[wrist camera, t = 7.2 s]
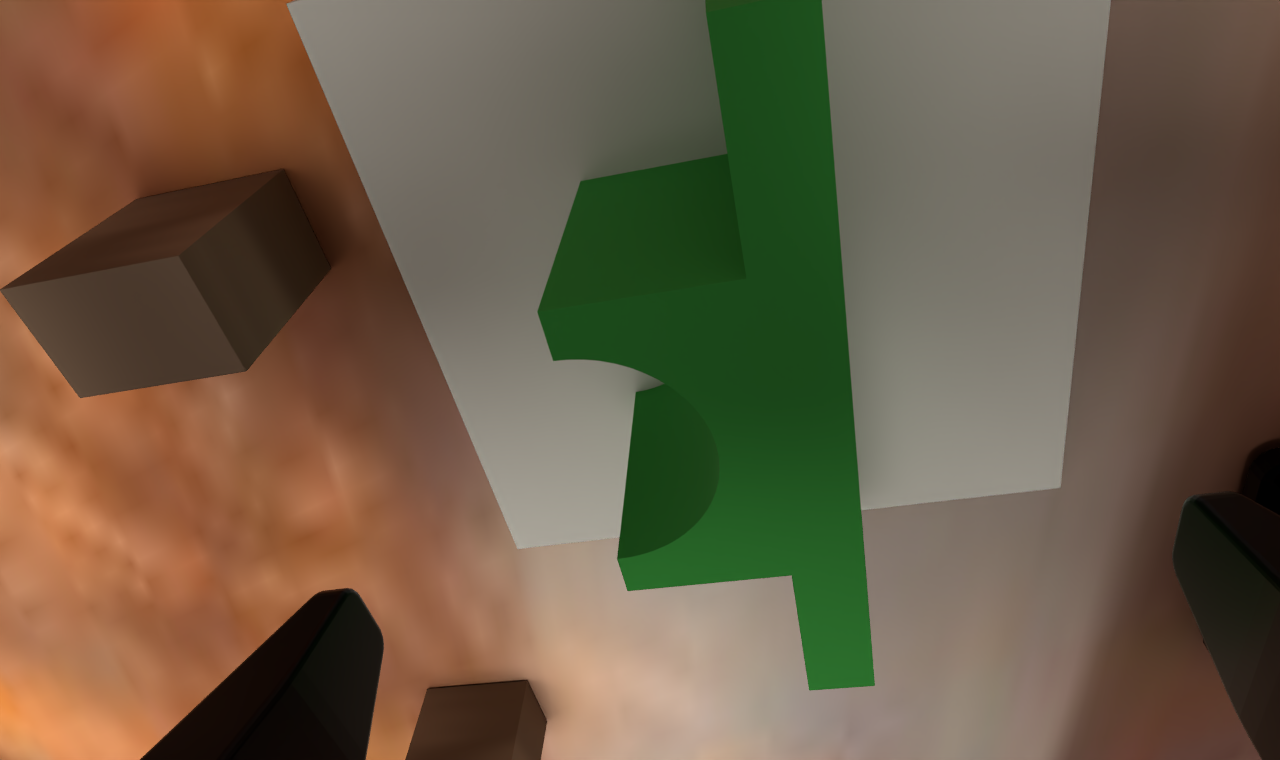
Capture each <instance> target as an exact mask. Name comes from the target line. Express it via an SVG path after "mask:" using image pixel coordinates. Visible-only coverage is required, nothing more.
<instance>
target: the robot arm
mask: <svg viewBox="0 0 1280 760" xmlns="http://www.w3.org/2000/svg"><path fill="white" fill-rule="evenodd" d="M1172 560H1173V566H1174V570H1175V573H1176V576H1177V579H1178V581H1179V583H1180V586H1181V588H1182V590H1183V592H1184V595H1185V597H1186V599H1187V602H1188V604H1189V606H1190V609H1191V611H1192V613H1193V615H1194V618H1195V620H1196V622H1197V625H1198V627H1199V629H1200V632H1201V634H1202V636H1203V643H1204V644H1205V646H1206V648H1207V649H1208V651H1209V653H1210V655H1211V657H1212V659H1213V662H1214V664H1215V666H1216V668H1217V671H1218V673H1219V675H1220V678H1221V680H1222V682H1223V685H1224V687H1225V689H1226V691H1227V694H1228V696H1229V698H1230V700H1231V702H1232V705H1233V707H1234V709H1235V711H1236V713H1237V715H1238V717H1239V719H1240V721H1241V723H1242V725H1243V727H1244V729H1245V730H1246V732H1247V734H1248V736H1249V738H1250V740H1251V742H1252V743H1253V745H1254V747H1255V749H1256V750H1257V752H1258V754H1259V756H1260V757H1261V759H1262V760H1280V447H1279V448H1275V449H1271V450H1269V451H1267V452H1265V453H1263V454H1261V455H1260V456H1259V457H1258V458H1256V459H1255V460H1254V461H1253V463H1252V465H1251V467H1250V468H1249V472H1248V476H1247V479H1246V483H1245V486H1244V490H1243V494H1242V495H1241V494H1239V493H1236V492H1230V491H1226V492H1216V493H1207V494H1198V495H1193V496H1190V497H1188V498H1187V499H1186V501H1185V502H1184V504H1183V507H1182V511H1181V515H1180V520H1179V524H1178V528H1177V533H1176V537H1175V542H1174V546H1173V552H1172ZM383 650H384V642H383V636H382V633H381V630H380V628H379V626H378V625H377V623H376V621H375V620H374V618H373V617H372V615H371V613H370V612H369V610H368V608H367V607H366V605H365V603H364V602H363V600H362V598H361V597H360V595H359V594H358V593H357V592H356V591H354V590H353V589H349V588H344V589H335V590H326V591H321V592H319V593H317V594H315V595H314V596H313V597H312V598H311V599H310V600H308V601H307V602H306V603H305V604H304V605H303V606H302V607H301V608H300V609H299V610H298V611H297V612H296V613H295V614H294V615H293V616H292V617H290V618H289V619H288V620H287V621H286V622H285V623H284V624H283V625H282V626H281V627H280V628H279V629H278V630H277V631H276V632H275V633H274V634H272V635H271V636H270V637H269V638H268V639H267V640H266V641H265V642H264V643H263V644H262V645H261V646H260V647H259V648H258V649H257V650H256V651H254V652H253V653H252V654H251V655H250V656H249V657H248V658H247V659H246V660H245V661H244V662H243V663H242V664H241V665H240V666H239V667H238V668H236V669H235V670H234V671H233V672H232V673H231V674H230V675H229V676H228V677H227V678H226V679H225V680H224V681H223V682H222V683H221V684H219V685H218V686H217V687H216V688H215V689H214V690H213V691H212V692H211V693H210V694H209V695H208V696H207V697H206V698H205V699H204V700H203V701H201V702H200V703H199V704H198V705H197V706H196V707H195V708H194V709H193V710H192V711H191V712H190V713H189V714H188V715H187V716H186V717H185V718H183V719H182V720H181V721H180V722H179V723H178V724H177V725H176V726H175V727H174V728H173V729H172V730H171V731H170V732H169V733H168V734H167V735H165V736H164V737H163V738H162V739H161V740H160V741H159V742H158V743H157V744H156V745H155V746H154V747H153V748H152V749H151V750H150V751H149V752H147V753H146V754H145V755H144V756H143V757H142V758H141V759H140V760H366V755H367V749H368V743H369V737H370V731H371V725H372V718H373V712H374V706H375V700H376V694H377V688H378V682H379V676H380V670H381V664H382V658H383Z"/></svg>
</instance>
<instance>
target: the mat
mask: <svg viewBox="0 0 1280 760" xmlns="http://www.w3.org/2000/svg"><path fill="white" fill-rule="evenodd" d="M1110 4H1111V0H822V10H823V22H824V35H825V48H826V61H827V74H828V87H829V100H830V113H831V126H832V139H833V152H834V165H835V178H836V191H837V204H838V217H839V230H840V243H841V256H842V269H843V281H844V294H845V307H846V320H847V333H848V346H849V359H850V372H851V385H852V398H853V411H854V424H855V437H856V450H857V463H858V476H859V489H860V502H861V510H868V509H877V508H886V507H895V506H904V505H913V504H922V503H931V502H940V501H948V500H957V499H966V498H975V497H984V496H993V495H1002V494H1011V493H1020V492H1028V491H1037V490H1046V489H1055V488H1060V487H1061V477H1062V468H1063V458H1064V448H1065V439H1066V429H1067V419H1068V410H1069V400H1070V390H1071V381H1072V371H1073V361H1074V352H1075V342H1076V332H1077V323H1078V313H1079V304H1080V294H1081V284H1082V275H1083V265H1084V255H1085V246H1086V236H1087V226H1088V217H1089V207H1090V197H1091V188H1092V178H1093V168H1094V159H1095V149H1096V139H1097V130H1098V120H1099V110H1100V101H1101V91H1102V81H1103V72H1104V62H1105V52H1106V43H1107V33H1108V23H1109V14H1110ZM287 7H288V9H289V11H290V14H291V16H292V19H293V21H294V23H295V26H296V28H297V30H298V33H299V35H300V37H301V40H302V42H303V44H304V47H305V49H306V52H307V54H308V56H309V59H310V61H311V63H312V66H313V68H314V70H315V73H316V75H317V77H318V80H319V82H320V85H321V87H322V89H323V92H324V94H325V96H326V99H327V101H328V103H329V106H330V108H331V110H332V113H333V115H334V117H335V120H336V122H337V125H338V127H339V129H340V132H341V134H342V136H343V139H344V141H345V143H346V146H347V148H348V150H349V153H350V155H351V158H352V160H353V162H354V165H355V167H356V169H357V172H358V174H359V176H360V179H361V181H362V183H363V186H364V188H365V191H366V193H367V195H368V198H369V200H370V202H371V205H372V207H373V209H374V212H375V214H376V216H377V219H378V221H379V224H380V226H381V228H382V231H383V233H384V235H385V238H386V240H387V242H388V245H389V247H390V249H391V252H392V254H393V257H394V259H395V261H396V264H397V266H398V268H399V271H400V273H401V275H402V278H403V280H404V282H405V285H406V287H407V290H408V292H409V294H410V297H411V299H412V301H413V304H414V306H415V308H416V311H417V313H418V315H419V318H420V320H421V323H422V325H423V327H424V330H425V332H426V334H427V337H428V339H429V341H430V344H431V346H432V348H433V351H434V353H435V356H436V358H437V360H438V363H439V365H440V367H441V370H442V372H443V374H444V377H445V379H446V381H447V384H448V386H449V389H450V391H451V393H452V396H453V398H454V400H455V403H456V405H457V407H458V410H459V412H460V414H461V417H462V419H463V422H464V424H465V426H466V429H467V431H468V433H469V436H470V438H471V440H472V443H473V445H474V447H475V450H476V452H477V455H478V457H479V459H480V462H481V464H482V466H483V469H484V471H485V473H486V476H487V478H488V480H489V483H490V485H491V488H492V490H493V492H494V495H495V497H496V499H497V502H498V504H499V506H500V509H501V511H502V513H503V516H504V518H505V521H506V523H507V525H508V528H509V530H510V532H511V535H512V537H513V539H514V542H515V544H516V546H517V549H522V548H531V547H540V546H549V545H558V544H566V543H575V542H584V541H593V540H602V539H611V538H620V530H621V521H622V512H623V503H624V494H625V485H626V475H627V466H628V457H629V448H630V439H631V430H632V421H633V412H634V403H635V394H636V392H638V391H643V390H648V389H651V388H655V387H657V386H660V385H662V384H664V383H663V382H661V381H659V380H658V379H656V378H654V377H651V376H649V375H647V374H645V373H643V372H640V371H637V370H635V369H632V368H629V367H625V366H622V365H618V364H614V363H608V362H603V361H595V360H560V361H553V359H552V356H551V353H550V350H549V347H548V344H547V341H546V338H545V334H544V331H543V328H542V325H541V322H540V319H539V316H538V313H537V311H538V308H539V305H540V302H541V299H542V296H543V293H544V290H545V287H546V284H547V281H548V278H549V275H550V272H551V269H552V266H553V263H554V260H555V257H556V254H557V251H558V248H559V245H560V242H561V239H562V235H563V232H564V229H565V226H566V223H567V220H568V217H569V214H570V211H571V208H572V205H573V202H574V199H575V196H576V193H577V190H578V187H579V184H580V181H584V180H589V179H594V178H600V177H605V176H611V175H616V174H621V173H627V172H632V171H637V170H643V169H648V168H653V167H659V166H664V165H670V164H675V163H680V162H686V161H691V160H696V159H702V158H707V157H712V156H718V155H723V154H727V148H726V141H725V135H724V128H723V122H722V115H721V109H720V102H719V96H718V89H717V82H716V76H715V69H714V63H713V56H712V50H711V43H710V37H709V30H708V24H707V17H706V5H705V0H294V1H292V2H289V3H287Z"/></svg>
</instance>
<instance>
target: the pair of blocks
mask: <svg viewBox="0 0 1280 760" xmlns="http://www.w3.org/2000/svg"><path fill="white" fill-rule="evenodd" d="M330 270H331V268H330V266H329V264H328V262H327V259H326V257H325V255H324V253H323V251H322V249H321V247H320V245H319V243H318V241H317V238H316V236H315V234H314V232H313V230H312V228H311V226H310V224H309V222H308V220H307V218H306V215H305V213H304V211H303V209H302V207H301V205H300V203H299V201H298V199H297V197H296V194H295V192H294V190H293V188H292V186H291V184H290V182H289V180H288V178H287V176H286V173H285V171H284V169H281V170H276V171H271V172H266V173H261V174H256V175H251V176H247V177H242V178H237V179H232V180H227V181H222V182H218V183H213V184H208V185H203V186H198V187H193V188H189V189H184V190H179V191H174V192H169V193H164V194H159V195H155V196H150V197H145V198H140V199H136V200H134V201H133V202H131V203H130V204H128V205H127V206H125V207H124V208H122V209H121V210H119V211H118V212H116V213H115V214H113V215H112V216H110V217H109V218H107V219H106V220H104V221H103V222H101V223H100V224H98V225H97V226H95V227H94V228H92V229H91V230H89V231H88V232H86V233H85V234H83V235H82V236H80V237H79V238H77V239H76V240H74V241H73V242H71V243H69V244H68V245H66V246H65V247H63V248H62V249H60V250H59V251H57V252H56V253H54V254H53V255H51V256H50V257H48V258H47V259H45V260H44V261H42V262H41V263H39V264H38V265H36V266H35V267H33V268H32V269H30V270H29V271H27V272H26V273H24V274H23V275H21V276H20V277H18V278H17V279H15V280H14V281H12V282H11V283H9V284H8V285H6V286H5V287H3V288H2V289H0V291H1V293H2V294H3V295H4V297H5V298H6V299H7V301H8V302H9V303H10V305H11V306H12V307H13V309H14V310H15V311H16V313H17V314H18V315H19V317H20V318H21V319H22V321H23V322H24V323H25V325H26V326H27V327H28V329H29V330H30V332H31V333H32V334H33V336H34V337H35V338H36V340H37V341H38V342H39V344H40V345H41V346H42V348H43V349H44V350H45V352H46V353H47V354H48V356H49V357H50V358H51V360H52V361H53V362H54V364H55V365H56V366H57V368H58V369H59V370H60V372H61V373H62V375H63V376H64V377H65V379H66V380H67V381H68V383H69V384H70V385H71V387H72V388H73V389H74V391H75V392H76V393H77V395H78V396H79V397H80V398H84V397H90V396H96V395H102V394H109V393H115V392H121V391H127V390H133V389H140V388H146V387H152V386H158V385H164V384H171V383H177V382H183V381H189V380H195V379H202V378H208V377H214V376H220V375H226V374H233V373H239V372H245V371H247V370H248V369H249V367H250V366H251V365H252V364H253V363H254V361H255V360H256V359H257V358H258V357H259V355H260V354H261V353H262V352H263V350H264V349H265V348H266V347H267V346H268V344H269V343H270V342H271V341H272V340H273V338H274V337H275V336H276V335H277V334H278V332H279V331H280V330H281V329H282V328H283V326H284V325H285V324H286V323H287V321H288V320H289V319H290V318H291V317H292V315H293V314H294V313H295V312H296V311H297V309H298V308H299V307H300V306H301V305H302V303H303V302H304V301H305V300H306V299H307V297H308V296H309V295H310V294H311V292H312V291H313V290H314V289H315V288H316V286H317V285H318V284H319V283H320V282H321V280H322V279H323V278H324V277H325V276H326V274H327V273H328V272H329V271H330ZM546 724H547V721H546V719H545V717H544V715H543V713H542V711H541V709H540V706H539V704H538V702H537V700H536V698H535V696H534V694H533V692H532V690H531V688H530V685H529V683H528V681H518V682H506V683H494V684H482V685H470V686H458V687H446V688H434V689H427V692H426V695H425V698H424V702H423V705H422V708H421V711H420V715H419V718H418V721H417V724H416V727H415V731H414V734H413V737H412V740H411V743H410V747H409V750H408V753H407V756H406V759H405V760H541V754H542V748H543V742H544V736H545V730H546Z"/></svg>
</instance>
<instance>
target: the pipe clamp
mask: <svg viewBox="0 0 1280 760" xmlns="http://www.w3.org/2000/svg"><path fill="white" fill-rule="evenodd" d="M705 5H706V17H707V24H708V30H709V37H710V43H711V50H712V56H713V63H714V69H715V76H716V82H717V89H718V96H719V102H720V109H721V115H722V122H723V128H724V135H725V141H726V148H727V154H723V155H718V156H712V157H707V158H702V159H696V160H691V161H686V162H680V163H675V164H670V165H664V166H659V167H653V168H648V169H643V170H637V171H632V172H627V173H621V174H616V175H611V176H605V177H600V178H594V179H589V180H584V181H580V184H579V187H578V190H577V193H576V196H575V199H574V202H573V205H572V208H571V211H570V214H569V217H568V220H567V223H566V226H565V229H564V232H563V235H562V239H561V242H560V245H559V248H558V251H557V254H556V257H555V260H554V263H553V266H552V269H551V272H550V275H549V278H548V281H547V284H546V287H545V290H544V293H543V296H542V299H541V302H540V305H539V308H538V311H537V313H538V316H539V319H540V322H541V325H542V328H543V331H544V334H545V338H546V341H547V344H548V347H549V350H550V353H551V356H552V359H553V361H560V360H595V361H603V362H608V363H614V364H618V365H622V366H625V367H629V368H632V369H635V370H637V371H640V372H643V373H645V374H647V375H649V376H651V377H654V378H656V379H658V380H659V381H661V382H663V383H664V384H662V385H660V386H657V387H655V388H651V389H648V390H643V391H638V392H636V394H635V403H634V412H633V421H632V430H631V439H630V448H629V457H628V466H627V475H626V485H625V494H624V503H623V512H622V521H621V530H620V539H619V548H618V557H617V560H618V563H619V566H620V569H621V572H622V575H623V578H624V581H625V584H626V587H627V591H633V590H643V589H654V588H664V587H675V586H685V585H695V584H706V583H716V582H727V581H737V580H748V579H758V578H768V577H779V576H789V575H792V580H793V587H794V593H795V600H796V606H797V613H798V620H799V626H800V633H801V639H802V646H803V652H804V659H805V665H806V672H807V679H808V685H809V690H822V689H835V688H849V687H863V686H875V683H874V670H873V657H872V644H871V631H870V618H869V605H868V592H867V579H866V566H865V553H864V541H863V528H862V515H861V502H860V489H859V476H858V463H857V450H856V437H855V424H854V411H853V398H852V385H851V372H850V359H849V346H848V333H847V320H846V307H845V294H844V281H843V269H842V256H841V243H840V230H839V217H838V204H837V191H836V178H835V165H834V152H833V139H832V126H831V113H830V100H829V87H828V74H827V61H826V48H825V35H824V22H823V10H822V0H705Z"/></svg>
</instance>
